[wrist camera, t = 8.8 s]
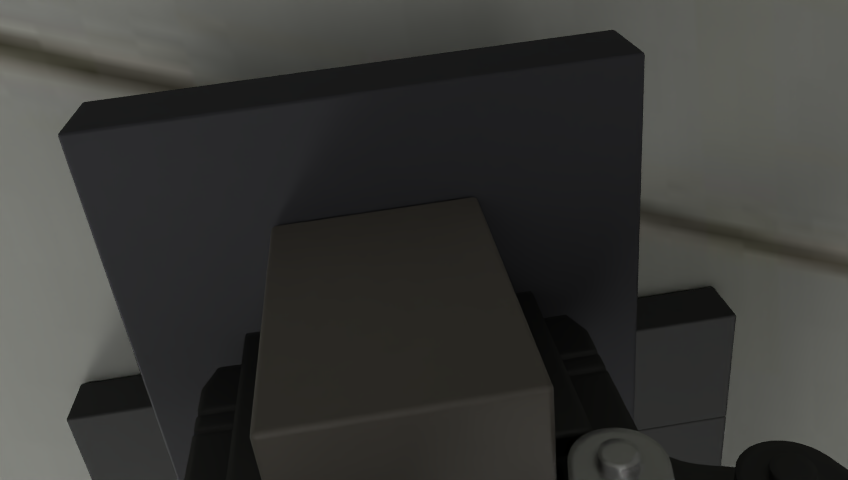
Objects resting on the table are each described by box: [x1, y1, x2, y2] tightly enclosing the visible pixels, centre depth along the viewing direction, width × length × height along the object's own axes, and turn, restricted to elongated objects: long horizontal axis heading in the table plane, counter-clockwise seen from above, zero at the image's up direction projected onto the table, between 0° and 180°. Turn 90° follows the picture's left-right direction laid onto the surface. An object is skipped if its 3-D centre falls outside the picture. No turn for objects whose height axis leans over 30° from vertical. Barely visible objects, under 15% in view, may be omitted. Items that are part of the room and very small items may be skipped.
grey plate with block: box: [58, 30, 645, 480], centre depth 14 cm, size 9×12×6 cm
